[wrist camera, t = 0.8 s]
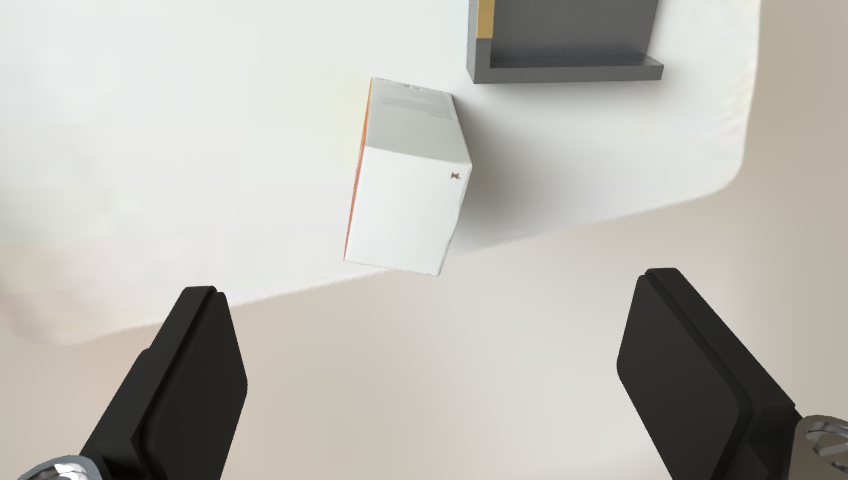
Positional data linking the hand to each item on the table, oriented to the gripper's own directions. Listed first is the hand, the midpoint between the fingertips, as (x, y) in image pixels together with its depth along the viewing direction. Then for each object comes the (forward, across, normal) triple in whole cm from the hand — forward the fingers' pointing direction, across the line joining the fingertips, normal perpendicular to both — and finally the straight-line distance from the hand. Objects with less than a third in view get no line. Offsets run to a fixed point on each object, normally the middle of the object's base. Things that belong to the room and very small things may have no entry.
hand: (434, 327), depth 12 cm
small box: (+30, 0, +6) cm, 31 cm away
